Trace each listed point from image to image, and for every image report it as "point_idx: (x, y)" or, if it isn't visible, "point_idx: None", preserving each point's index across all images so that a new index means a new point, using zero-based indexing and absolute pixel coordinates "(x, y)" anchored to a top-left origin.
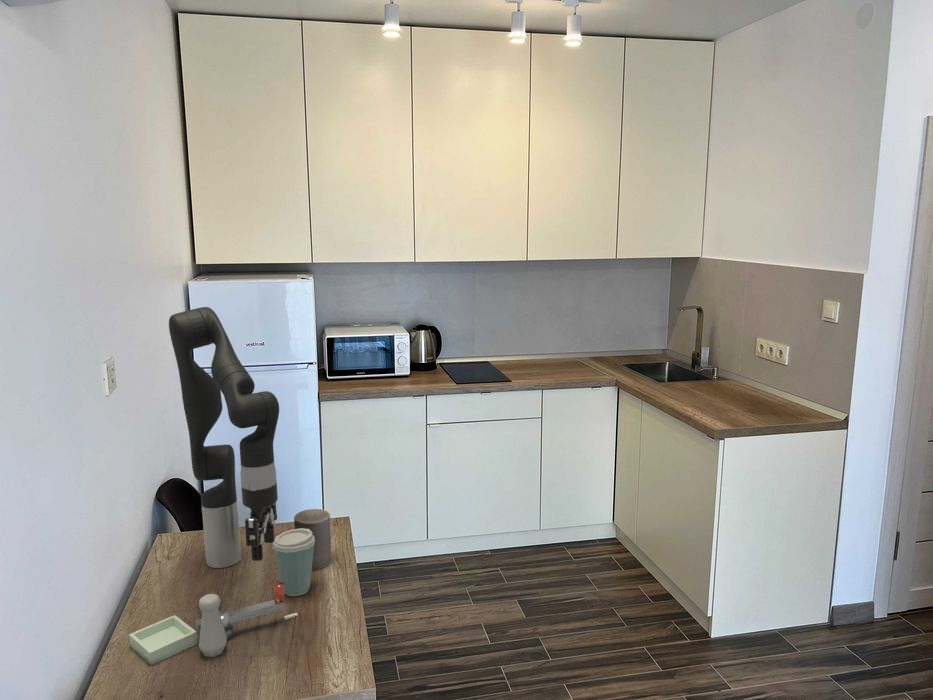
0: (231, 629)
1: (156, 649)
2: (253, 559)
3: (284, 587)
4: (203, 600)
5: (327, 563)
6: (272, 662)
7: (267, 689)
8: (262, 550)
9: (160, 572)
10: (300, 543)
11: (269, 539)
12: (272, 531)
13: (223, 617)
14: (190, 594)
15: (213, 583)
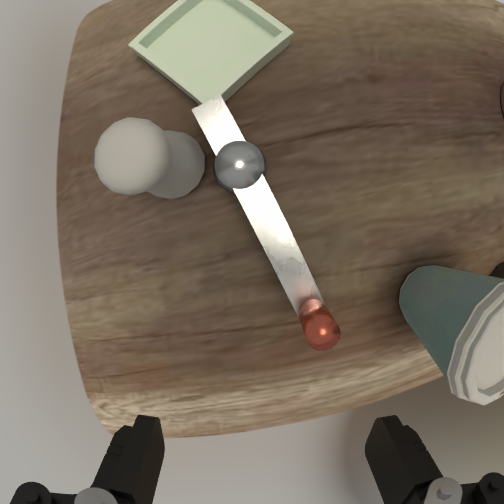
0: (234, 191)
1: (139, 50)
2: (139, 419)
3: (415, 279)
4: (105, 141)
5: None
6: (142, 308)
7: (73, 313)
8: (153, 488)
9: (472, 6)
10: (465, 389)
11: (374, 449)
12: (384, 496)
13: (225, 174)
14: (419, 53)
15: (459, 96)
